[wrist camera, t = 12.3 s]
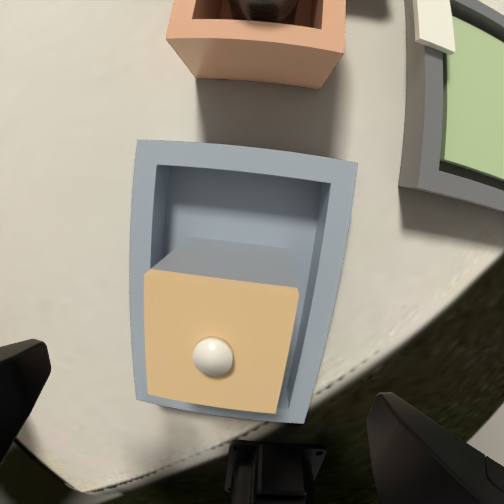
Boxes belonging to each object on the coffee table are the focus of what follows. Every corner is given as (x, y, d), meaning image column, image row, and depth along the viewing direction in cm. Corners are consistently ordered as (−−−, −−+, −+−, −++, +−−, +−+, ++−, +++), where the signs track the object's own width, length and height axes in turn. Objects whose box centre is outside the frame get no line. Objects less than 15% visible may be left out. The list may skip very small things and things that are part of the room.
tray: (299, 395, 17) (303, 423, 15) (149, 374, 17) (136, 399, 15) (343, 164, 14) (358, 162, 12) (156, 144, 14) (137, 139, 12)
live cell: (272, 334, 16) (275, 421, 10) (184, 323, 16) (144, 400, 10) (286, 248, 15) (300, 299, 9) (189, 236, 15) (139, 278, 9)
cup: (319, 89, 14) (343, 53, 9) (195, 77, 14) (165, 38, 9) (326, -6, 12) (345, -60, 7) (213, -16, 12) (196, -71, 7)
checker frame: (533, 221, 14) (560, 229, 12) (389, 184, 14) (412, 186, 12) (533, 56, 11) (557, 49, 9) (395, -13, 12) (412, -35, 9)
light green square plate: (528, 191, 13) (537, 192, 12) (436, 159, 13) (444, 159, 13) (527, 65, 11) (534, 62, 10) (436, 16, 11) (442, 11, 11)
